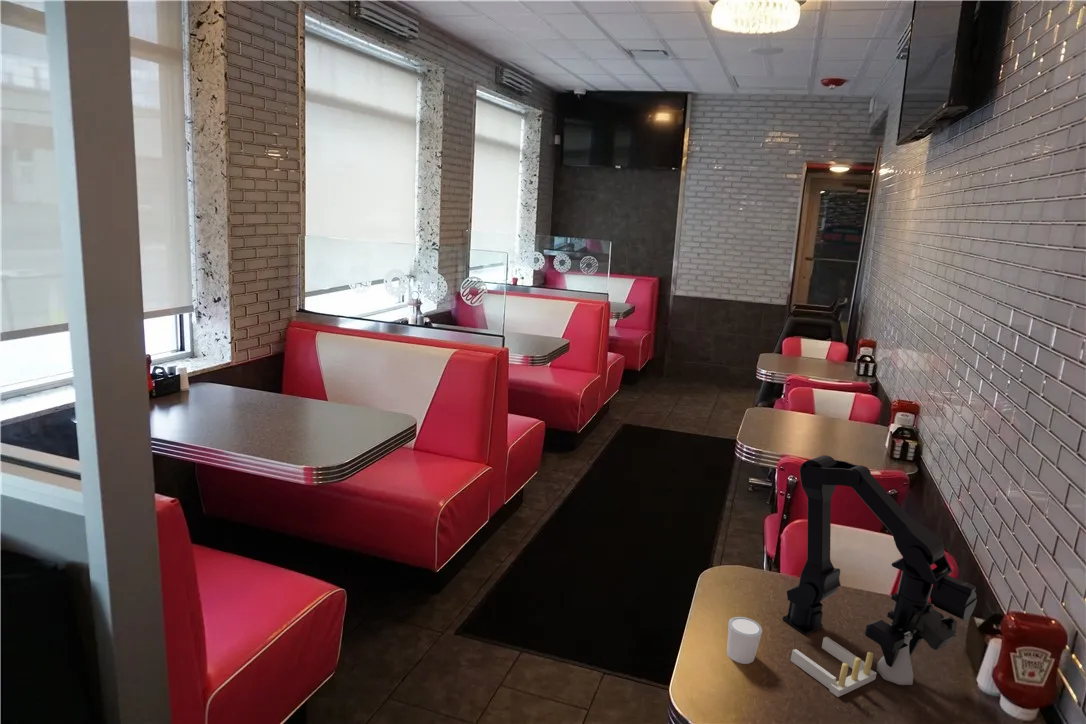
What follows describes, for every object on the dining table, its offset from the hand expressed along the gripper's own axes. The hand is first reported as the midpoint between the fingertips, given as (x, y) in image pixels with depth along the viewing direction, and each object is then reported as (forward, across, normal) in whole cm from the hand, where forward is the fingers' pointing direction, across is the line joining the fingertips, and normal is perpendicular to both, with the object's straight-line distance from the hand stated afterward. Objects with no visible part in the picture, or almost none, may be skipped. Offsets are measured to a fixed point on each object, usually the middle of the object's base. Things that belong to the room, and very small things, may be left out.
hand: (897, 661), depth 149 cm
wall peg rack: (+3, -11, +7) cm, 13 cm away
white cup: (+4, -25, +19) cm, 32 cm away
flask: (+3, 0, 0) cm, 3 cm away
